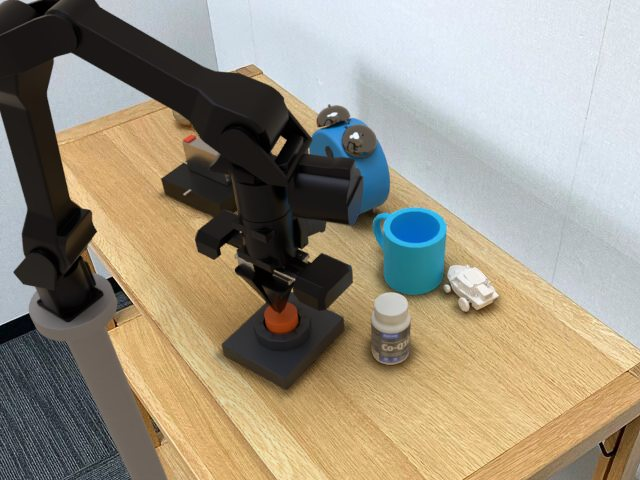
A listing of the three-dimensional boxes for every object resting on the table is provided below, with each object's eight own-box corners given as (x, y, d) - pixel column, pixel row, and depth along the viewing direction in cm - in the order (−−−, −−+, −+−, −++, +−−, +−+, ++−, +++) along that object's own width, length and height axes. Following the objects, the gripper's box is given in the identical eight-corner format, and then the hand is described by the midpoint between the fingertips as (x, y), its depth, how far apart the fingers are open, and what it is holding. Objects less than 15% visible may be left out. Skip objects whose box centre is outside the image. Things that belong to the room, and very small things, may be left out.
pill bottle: (382, 371, 92) (381, 323, 85) (365, 345, 95) (363, 297, 88) (416, 357, 93) (418, 309, 87) (398, 332, 96) (399, 284, 89)
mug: (456, 274, 102) (460, 227, 96) (412, 303, 99) (414, 256, 93) (395, 233, 109) (395, 186, 103) (352, 259, 105) (350, 212, 99)
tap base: (270, 183, 118) (268, 166, 116) (218, 225, 112) (214, 208, 109) (212, 159, 123) (209, 142, 121) (159, 198, 116) (154, 181, 114)
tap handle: (236, 179, 114) (230, 149, 110) (227, 186, 113) (221, 156, 109) (197, 163, 117) (190, 133, 113) (188, 169, 116) (181, 139, 112)
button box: (286, 390, 90) (283, 368, 87) (224, 355, 94) (218, 334, 91) (344, 329, 97) (343, 307, 94) (283, 299, 101) (280, 277, 98)
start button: (284, 339, 91) (283, 329, 90) (259, 326, 93) (257, 316, 91) (304, 319, 93) (303, 309, 92) (279, 306, 95) (278, 296, 93)
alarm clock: (391, 221, 111) (392, 131, 99) (356, 237, 108) (352, 147, 97) (344, 178, 118) (339, 90, 107) (310, 192, 116) (302, 103, 105)
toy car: (471, 320, 97) (474, 297, 94) (435, 284, 101) (436, 261, 98) (501, 305, 98) (504, 282, 95) (463, 270, 103) (466, 247, 100)
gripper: (380, 195, 80) (381, 300, 92) (246, 142, 88) (263, 245, 99) (317, 254, 74) (326, 358, 86) (179, 192, 82) (205, 295, 93)
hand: (280, 310), depth 91 cm, fingers closed
